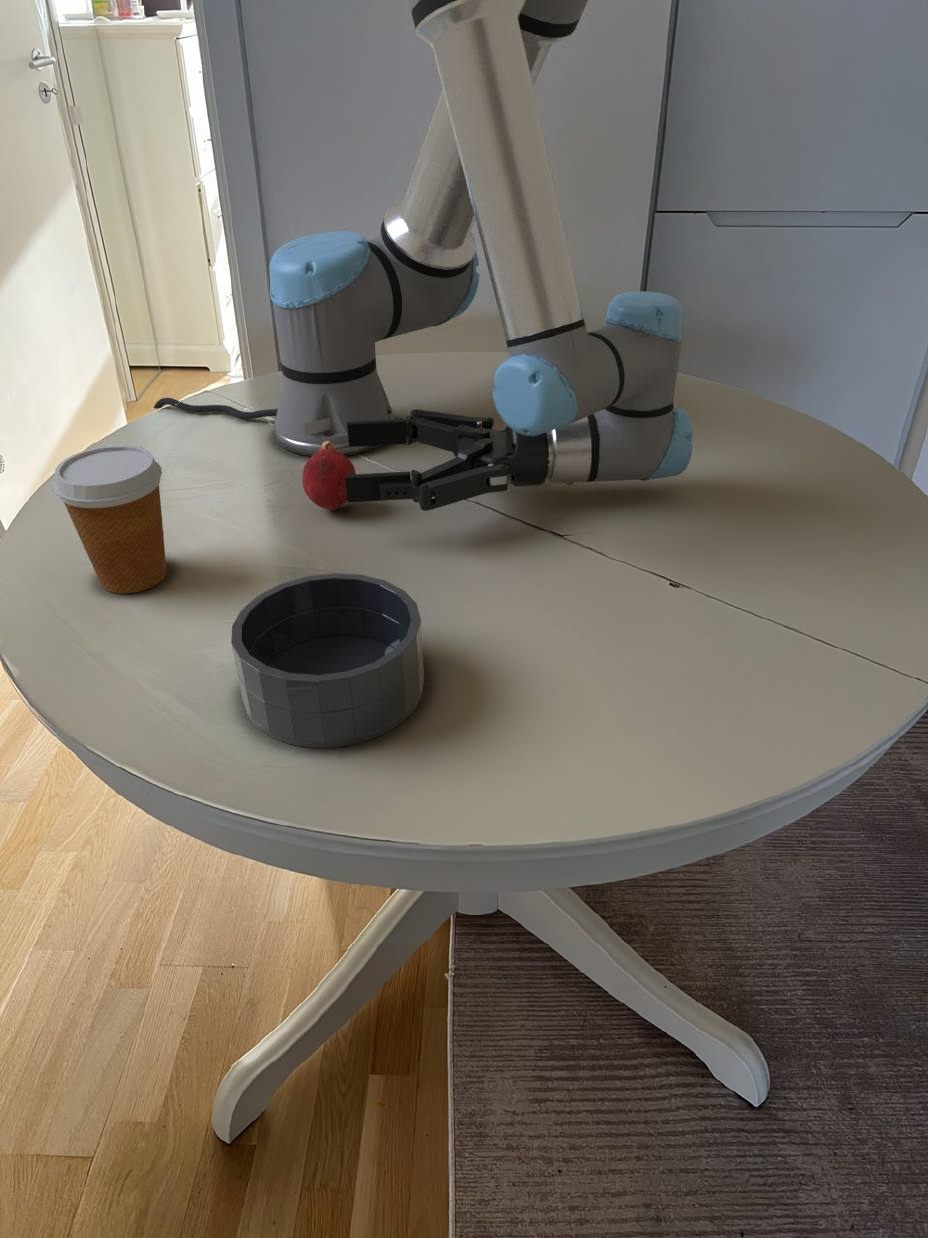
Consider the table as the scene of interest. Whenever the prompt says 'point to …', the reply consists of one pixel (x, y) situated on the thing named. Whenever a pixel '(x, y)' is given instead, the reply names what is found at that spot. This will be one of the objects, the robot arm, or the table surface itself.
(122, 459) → the disposable coffee cup
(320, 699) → the pot
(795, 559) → the table surface
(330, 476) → the onion
